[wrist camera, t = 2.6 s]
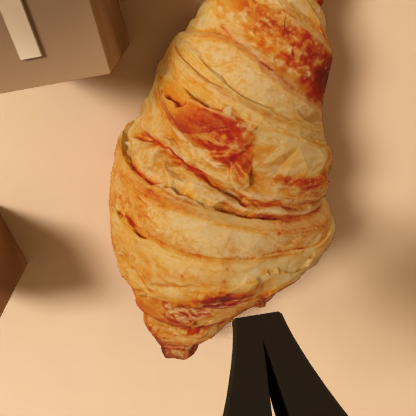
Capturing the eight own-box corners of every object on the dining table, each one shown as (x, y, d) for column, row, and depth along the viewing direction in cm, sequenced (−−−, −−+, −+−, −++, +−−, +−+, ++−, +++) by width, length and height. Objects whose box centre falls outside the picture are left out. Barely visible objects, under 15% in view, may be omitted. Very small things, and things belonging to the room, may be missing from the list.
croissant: (205, -90, 16) (75, -178, 9) (458, -37, 13) (531, -103, 7) (140, 283, 26) (57, 368, 20) (274, 350, 24) (232, 474, 17)
